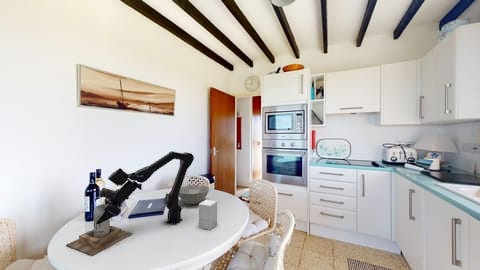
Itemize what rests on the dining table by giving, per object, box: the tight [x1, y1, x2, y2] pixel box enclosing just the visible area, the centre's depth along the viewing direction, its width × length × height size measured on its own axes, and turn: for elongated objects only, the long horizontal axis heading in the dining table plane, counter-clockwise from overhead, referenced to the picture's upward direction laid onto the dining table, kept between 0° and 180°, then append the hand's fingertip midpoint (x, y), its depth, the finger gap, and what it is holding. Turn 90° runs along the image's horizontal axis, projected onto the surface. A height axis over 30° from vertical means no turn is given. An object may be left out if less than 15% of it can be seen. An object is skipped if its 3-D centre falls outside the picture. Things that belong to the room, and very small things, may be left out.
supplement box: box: [198, 199, 218, 231], centre depth 103 cm, size 7×7×13 cm
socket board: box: [65, 225, 134, 257], centre depth 89 cm, size 18×18×4 cm
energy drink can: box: [93, 203, 111, 238], centre depth 89 cm, size 6×6×15 cm
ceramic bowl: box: [179, 184, 210, 205], centre depth 136 cm, size 22×23×10 cm
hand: (97, 219), depth 88 cm, fingers open, 9 cm apart
